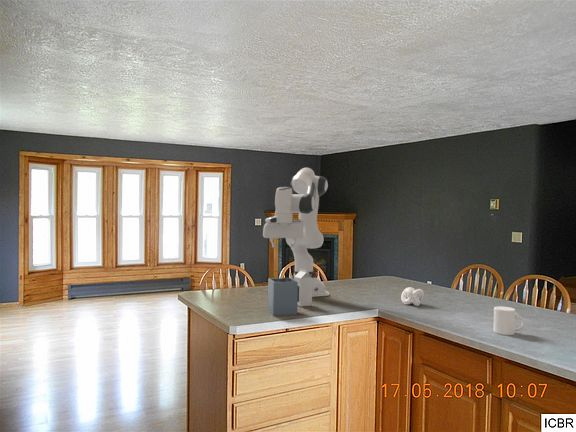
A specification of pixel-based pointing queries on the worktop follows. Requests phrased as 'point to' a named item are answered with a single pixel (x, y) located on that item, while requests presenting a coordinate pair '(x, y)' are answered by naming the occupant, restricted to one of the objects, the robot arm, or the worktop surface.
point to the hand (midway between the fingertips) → (283, 247)
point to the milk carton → (304, 288)
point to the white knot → (412, 296)
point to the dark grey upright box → (283, 296)
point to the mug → (506, 321)
